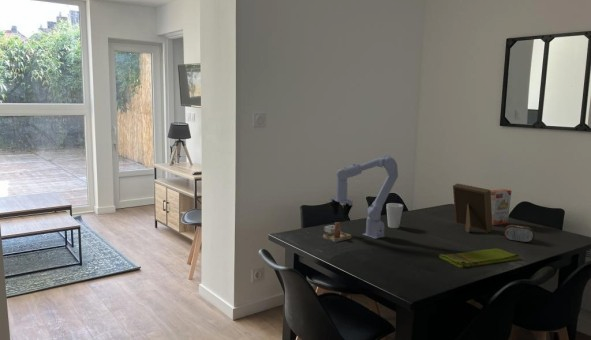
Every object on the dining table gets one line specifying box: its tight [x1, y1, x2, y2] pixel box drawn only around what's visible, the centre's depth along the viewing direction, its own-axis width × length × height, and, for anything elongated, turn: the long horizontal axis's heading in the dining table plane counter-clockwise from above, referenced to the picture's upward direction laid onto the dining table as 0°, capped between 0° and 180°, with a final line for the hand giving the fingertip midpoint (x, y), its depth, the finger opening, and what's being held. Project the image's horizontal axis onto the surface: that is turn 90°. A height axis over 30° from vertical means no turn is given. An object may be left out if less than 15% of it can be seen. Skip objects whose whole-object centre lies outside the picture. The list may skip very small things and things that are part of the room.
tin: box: [503, 224, 536, 243], centre depth 253 cm, size 15×3×8 cm, turn 65°
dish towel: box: [438, 248, 520, 269], centre depth 224 cm, size 15×36×3 cm, turn 112°
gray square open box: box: [323, 224, 342, 233], centre depth 260 cm, size 6×6×3 cm
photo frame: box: [452, 183, 493, 234], centre depth 273 cm, size 15×22×25 cm
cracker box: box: [489, 188, 512, 227], centre depth 287 cm, size 14×6×21 cm, turn 120°
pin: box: [334, 221, 342, 238], centre depth 249 cm, size 3×3×8 cm
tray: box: [322, 231, 353, 243], centre depth 249 cm, size 10×12×2 cm
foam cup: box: [385, 202, 404, 229], centre depth 274 cm, size 10×9×13 cm
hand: (340, 215), depth 255 cm, fingers open, 7 cm apart
